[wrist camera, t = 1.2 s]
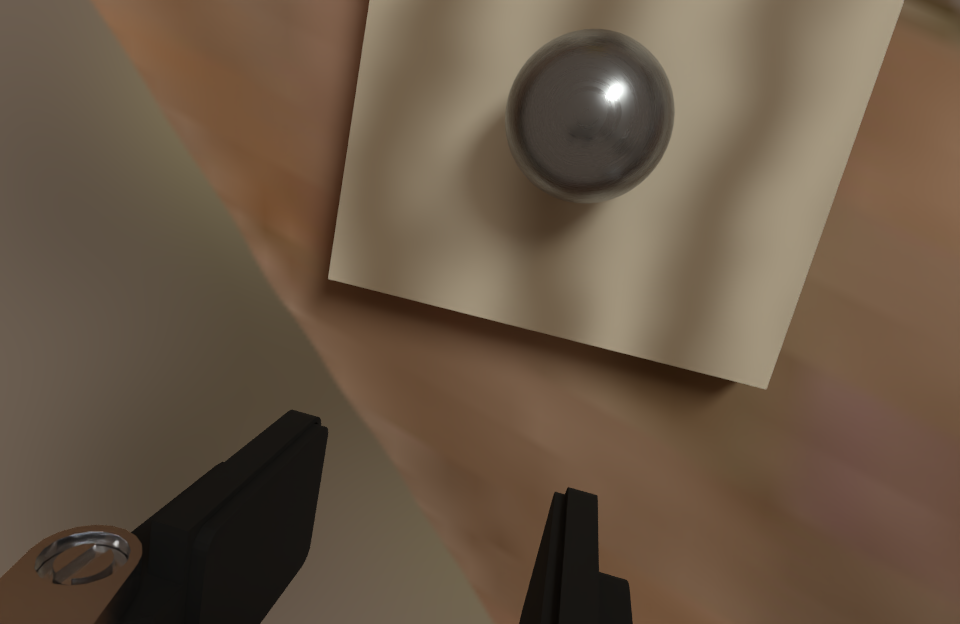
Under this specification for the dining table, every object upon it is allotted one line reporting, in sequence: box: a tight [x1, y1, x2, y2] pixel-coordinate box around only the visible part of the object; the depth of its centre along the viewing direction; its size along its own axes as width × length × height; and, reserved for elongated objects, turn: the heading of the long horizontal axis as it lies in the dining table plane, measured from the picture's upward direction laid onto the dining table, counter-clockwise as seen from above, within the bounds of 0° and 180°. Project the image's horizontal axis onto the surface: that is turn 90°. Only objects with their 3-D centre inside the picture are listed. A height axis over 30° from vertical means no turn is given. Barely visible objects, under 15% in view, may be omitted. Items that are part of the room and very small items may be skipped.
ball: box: [505, 29, 675, 204], centre depth 22 cm, size 6×6×6 cm
